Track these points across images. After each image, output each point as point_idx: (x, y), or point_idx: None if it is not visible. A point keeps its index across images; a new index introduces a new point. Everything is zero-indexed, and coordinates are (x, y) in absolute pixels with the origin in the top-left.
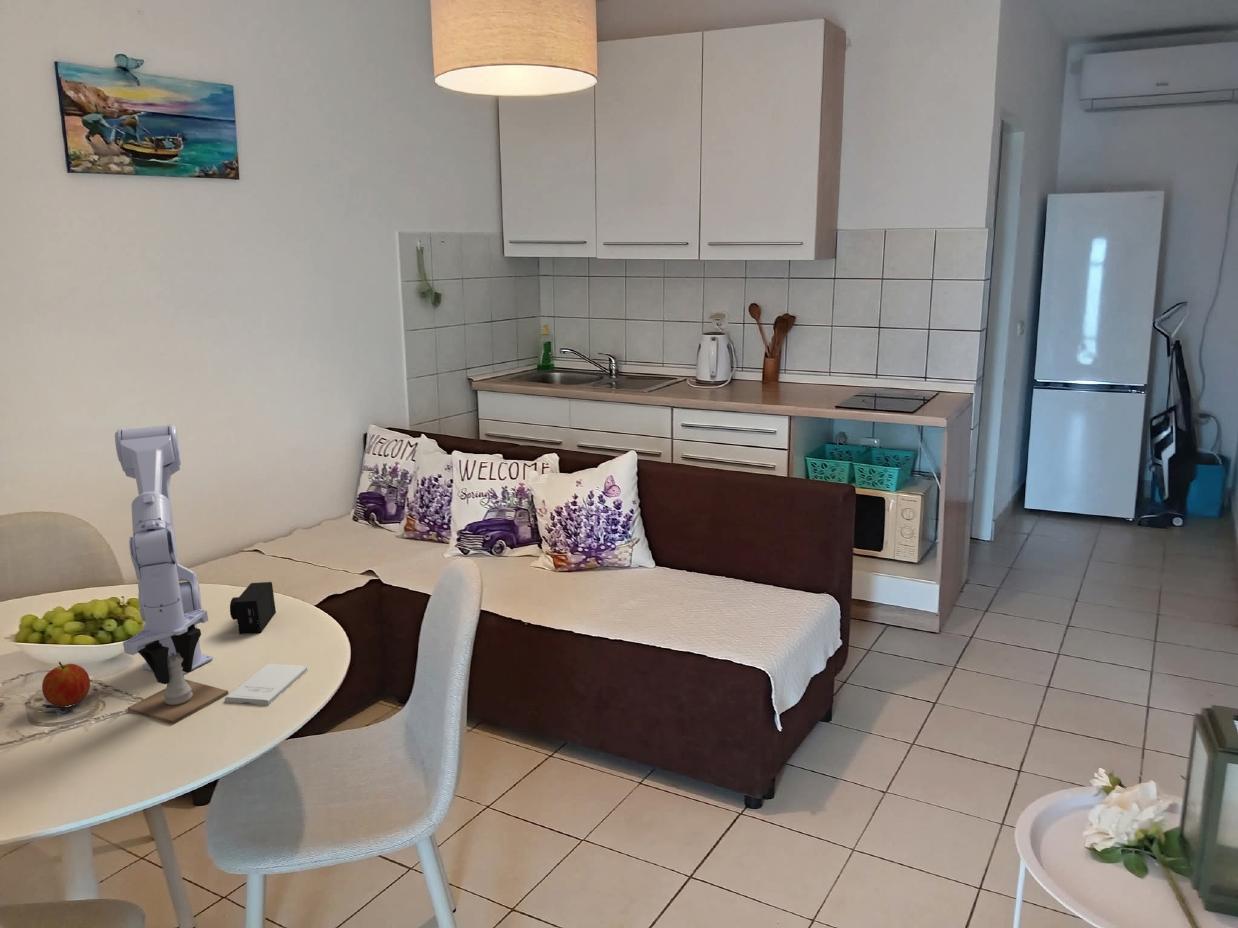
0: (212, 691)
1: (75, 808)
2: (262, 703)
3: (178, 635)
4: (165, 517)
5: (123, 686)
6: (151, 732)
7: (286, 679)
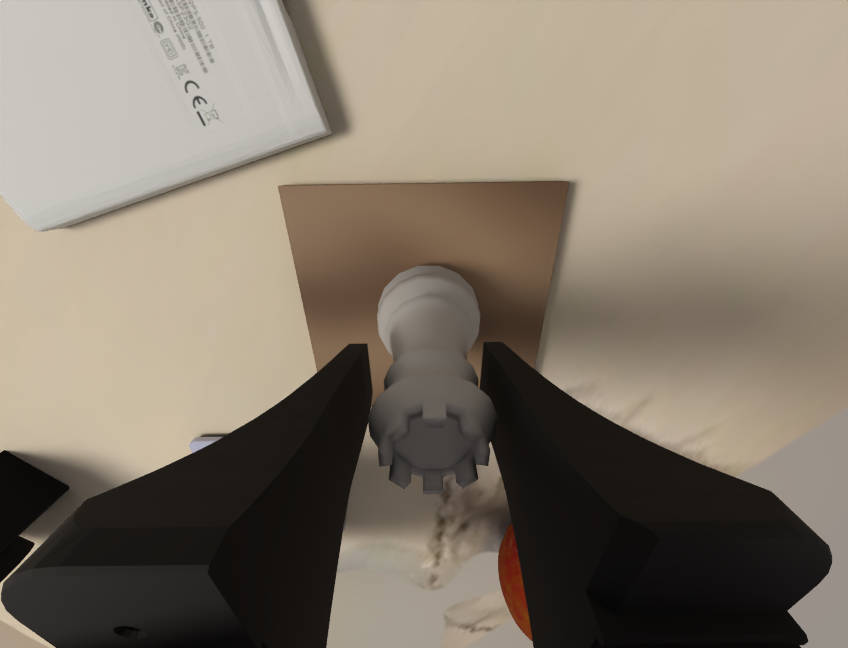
0: (322, 246)
1: None
2: None
3: (296, 625)
4: None
5: (426, 496)
6: (633, 208)
7: None
